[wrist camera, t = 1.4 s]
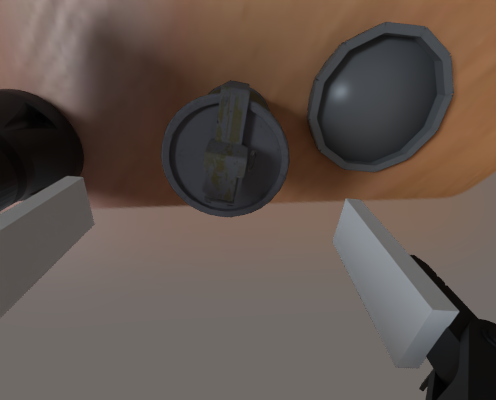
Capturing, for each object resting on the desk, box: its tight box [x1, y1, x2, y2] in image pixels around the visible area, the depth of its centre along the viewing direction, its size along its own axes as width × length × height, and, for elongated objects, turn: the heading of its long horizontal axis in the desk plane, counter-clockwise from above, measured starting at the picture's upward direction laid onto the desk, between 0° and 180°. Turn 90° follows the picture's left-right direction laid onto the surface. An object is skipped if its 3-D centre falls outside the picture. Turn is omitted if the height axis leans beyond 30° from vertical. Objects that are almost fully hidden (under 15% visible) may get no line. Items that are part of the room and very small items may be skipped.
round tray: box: [307, 22, 454, 172], centre depth 33 cm, size 18×18×2 cm
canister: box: [161, 80, 289, 217], centre depth 26 cm, size 11×10×20 cm
